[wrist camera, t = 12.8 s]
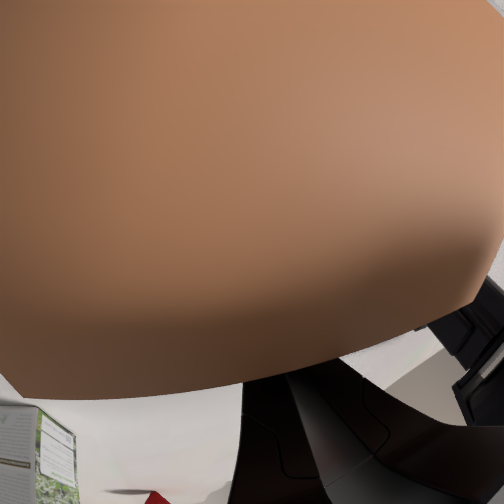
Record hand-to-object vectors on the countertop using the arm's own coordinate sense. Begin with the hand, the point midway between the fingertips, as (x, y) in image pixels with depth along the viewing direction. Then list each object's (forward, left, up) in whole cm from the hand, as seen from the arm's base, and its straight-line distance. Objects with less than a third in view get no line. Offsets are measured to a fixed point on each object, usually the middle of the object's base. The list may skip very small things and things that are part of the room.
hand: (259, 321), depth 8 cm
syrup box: (+17, +14, -4) cm, 22 cm away
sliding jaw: (0, -6, -2) cm, 6 cm away
